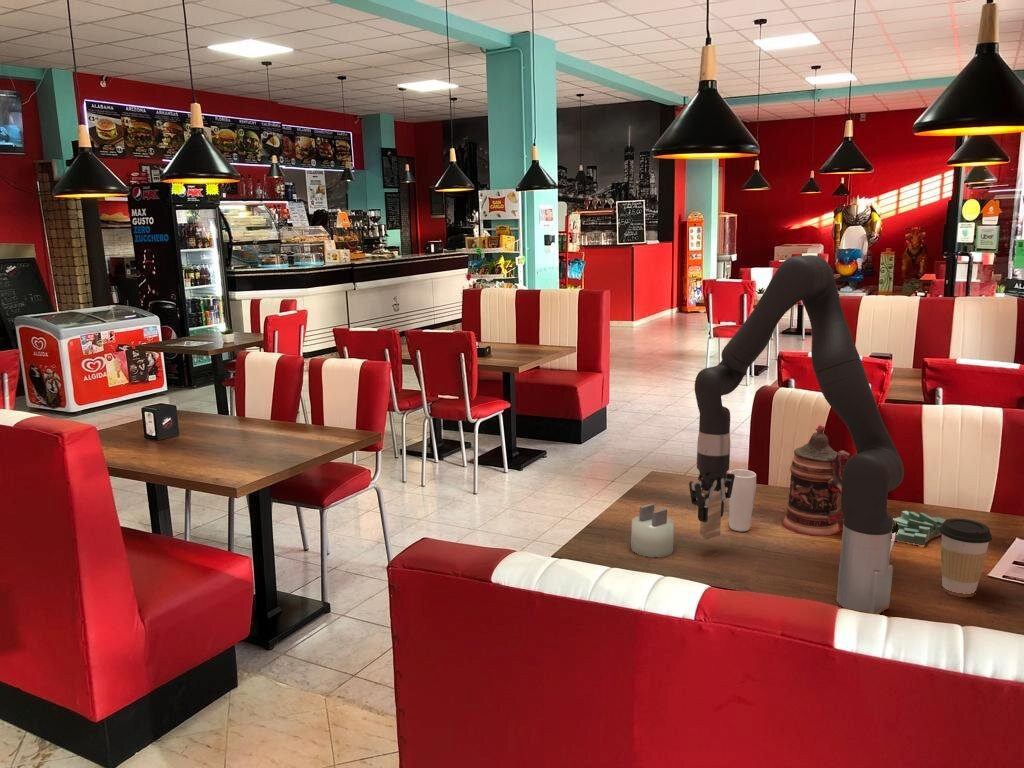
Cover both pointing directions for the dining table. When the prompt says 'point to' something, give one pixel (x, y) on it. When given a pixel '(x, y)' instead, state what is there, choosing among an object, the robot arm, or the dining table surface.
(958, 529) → the coffee cup
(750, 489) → the drinking glass
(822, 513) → the beer stein
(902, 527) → the money
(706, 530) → the brown wooden block
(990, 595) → the dining table surface
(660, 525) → the cream plug cylinder
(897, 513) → the dining table surface
